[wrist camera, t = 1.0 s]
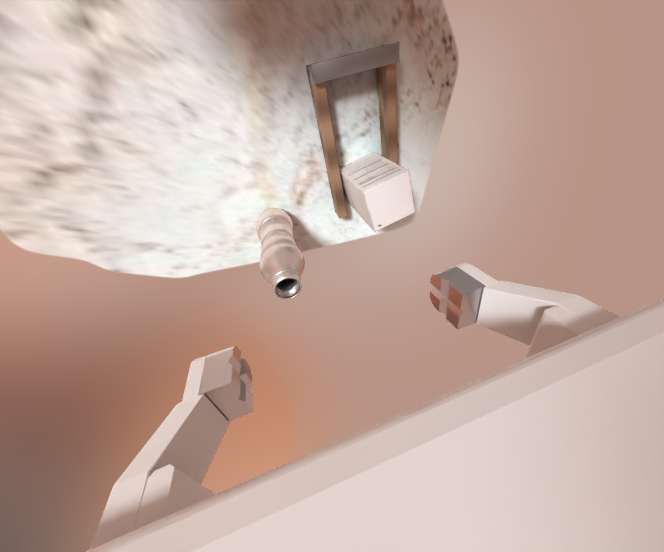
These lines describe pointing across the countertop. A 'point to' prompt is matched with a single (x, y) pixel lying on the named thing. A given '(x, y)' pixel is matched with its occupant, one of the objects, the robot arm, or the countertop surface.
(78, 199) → the countertop surface
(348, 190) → the supplement box
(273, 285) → the plastic bottle
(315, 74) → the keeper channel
